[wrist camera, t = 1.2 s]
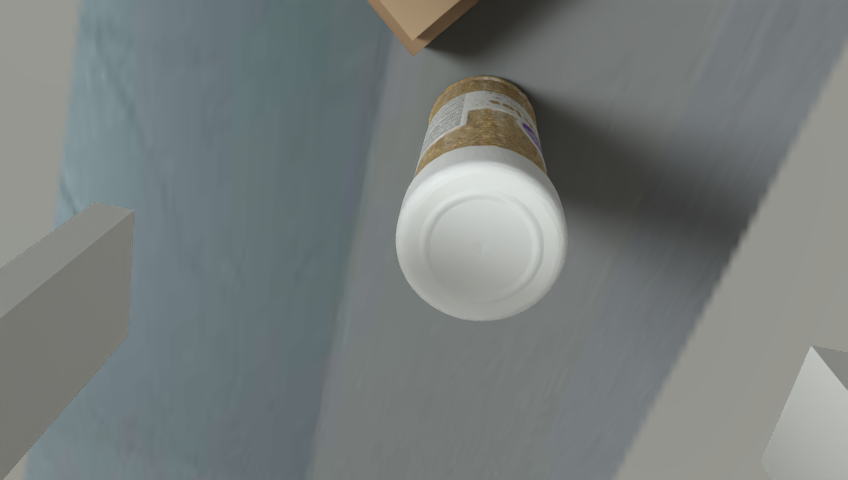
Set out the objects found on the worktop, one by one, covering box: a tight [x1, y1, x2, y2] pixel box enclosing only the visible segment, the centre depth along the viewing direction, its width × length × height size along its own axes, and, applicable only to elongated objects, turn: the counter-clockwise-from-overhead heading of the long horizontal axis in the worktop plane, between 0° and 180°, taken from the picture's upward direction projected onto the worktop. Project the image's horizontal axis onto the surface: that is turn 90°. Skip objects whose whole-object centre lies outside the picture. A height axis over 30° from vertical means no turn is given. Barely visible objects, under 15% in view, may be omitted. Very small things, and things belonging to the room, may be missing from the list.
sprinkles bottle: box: [396, 75, 568, 321], centre depth 26 cm, size 5×5×13 cm
